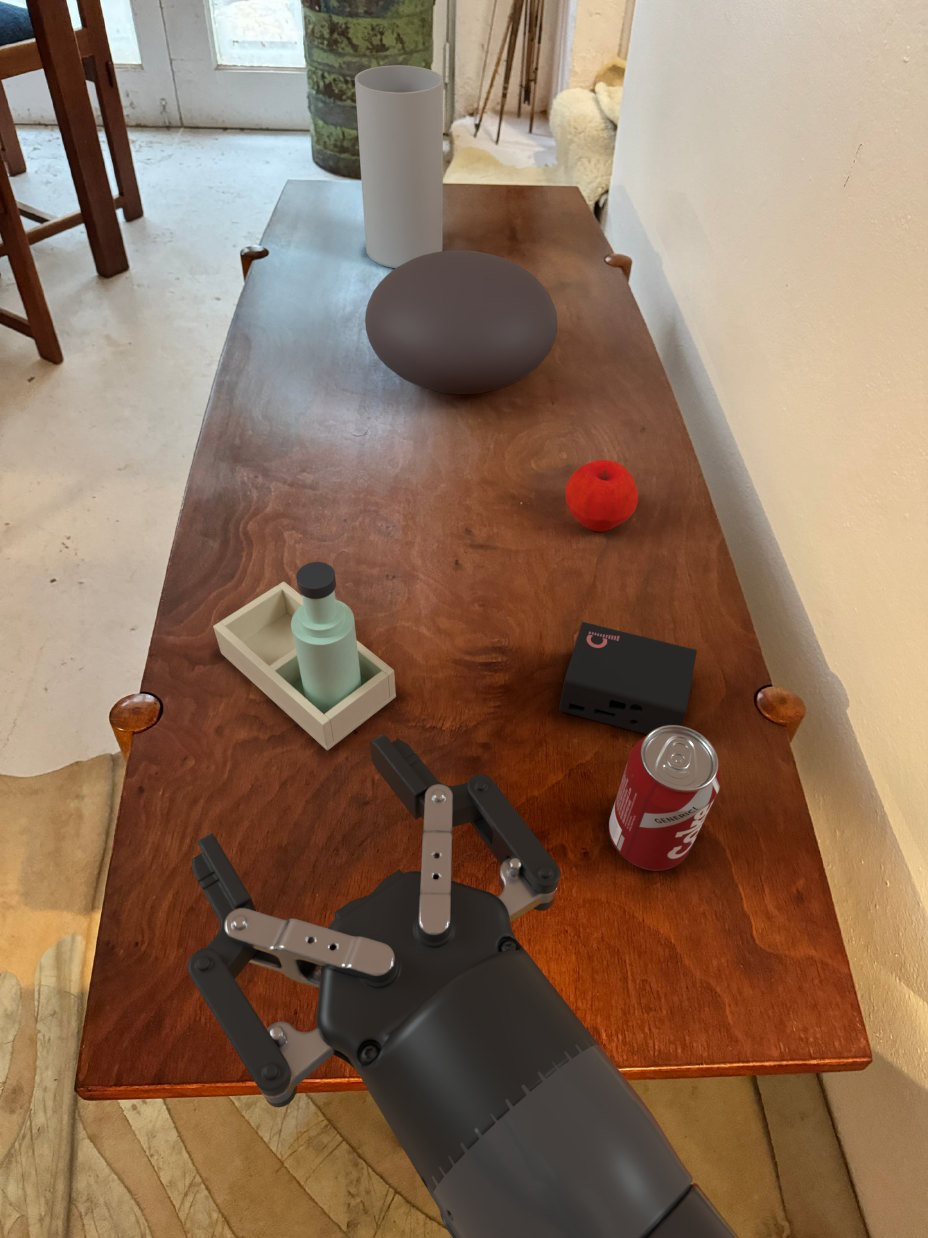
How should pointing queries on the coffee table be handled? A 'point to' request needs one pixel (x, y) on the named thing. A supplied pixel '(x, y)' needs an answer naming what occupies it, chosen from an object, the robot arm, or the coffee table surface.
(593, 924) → the coffee table surface
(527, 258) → the coffee table surface
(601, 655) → the electronic device
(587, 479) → the apple
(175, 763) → the coffee table surface
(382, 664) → the cream rectangular tray
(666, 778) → the soda can
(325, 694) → the bottle
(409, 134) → the cylinder vase
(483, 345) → the flattened ellipsoid
